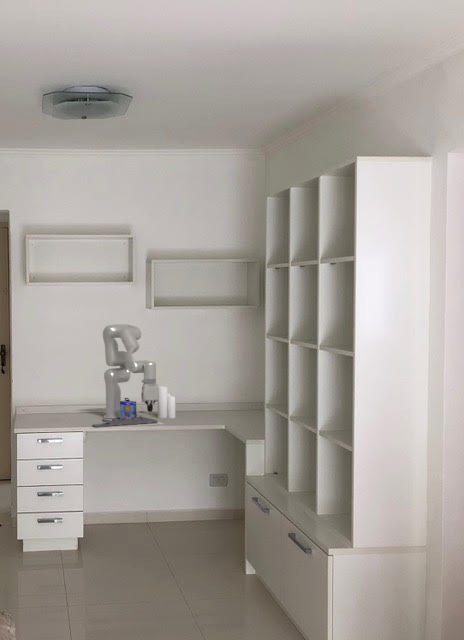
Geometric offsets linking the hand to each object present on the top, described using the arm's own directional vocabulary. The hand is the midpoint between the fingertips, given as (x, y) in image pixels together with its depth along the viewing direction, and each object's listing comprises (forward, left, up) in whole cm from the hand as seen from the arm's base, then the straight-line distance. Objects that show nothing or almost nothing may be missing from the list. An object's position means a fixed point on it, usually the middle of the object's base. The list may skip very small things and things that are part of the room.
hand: (150, 411), depth 582 cm
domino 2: (0, -20, -6) cm, 21 cm away
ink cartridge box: (-20, -7, -8) cm, 23 cm away
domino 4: (0, -8, -6) cm, 10 cm away
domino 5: (0, -2, -6) cm, 7 cm away
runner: (0, -10, -8) cm, 13 cm away
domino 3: (0, -14, -6) cm, 15 cm away
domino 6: (0, +4, -6) cm, 8 cm away
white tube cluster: (-20, +19, -8) cm, 29 cm away
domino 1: (0, -26, -6) cm, 27 cm away
